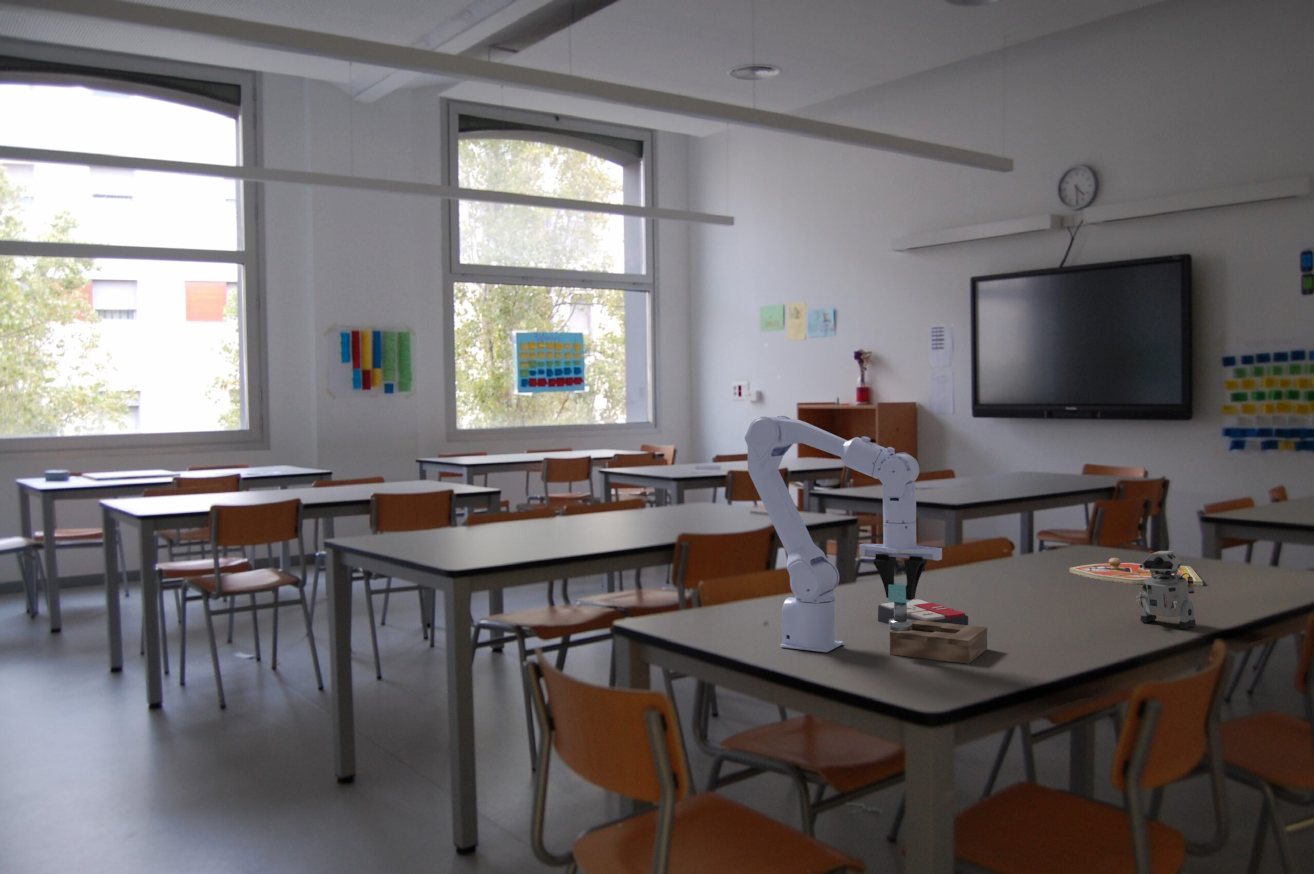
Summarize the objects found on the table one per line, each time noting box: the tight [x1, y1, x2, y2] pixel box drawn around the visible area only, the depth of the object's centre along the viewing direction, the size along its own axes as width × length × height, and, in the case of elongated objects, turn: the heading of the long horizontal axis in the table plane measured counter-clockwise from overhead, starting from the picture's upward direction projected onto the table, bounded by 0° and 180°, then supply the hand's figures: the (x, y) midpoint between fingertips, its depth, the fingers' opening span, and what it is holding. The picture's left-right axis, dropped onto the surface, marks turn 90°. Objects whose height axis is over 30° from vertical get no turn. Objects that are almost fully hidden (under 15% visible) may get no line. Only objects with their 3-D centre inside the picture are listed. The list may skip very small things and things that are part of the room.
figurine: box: [1135, 550, 1197, 630], centre depth 201 cm, size 9×12×15 cm
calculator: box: [877, 598, 969, 625], centre depth 207 cm, size 11×4×15 cm
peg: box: [887, 581, 913, 631], centre depth 181 cm, size 4×4×8 cm
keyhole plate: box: [889, 620, 988, 665], centre depth 184 cm, size 14×12×4 cm
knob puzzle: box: [1069, 557, 1204, 587], centre depth 261 cm, size 29×30×4 cm
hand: (900, 598), depth 181 cm, fingers closed on peg, 3 cm apart
